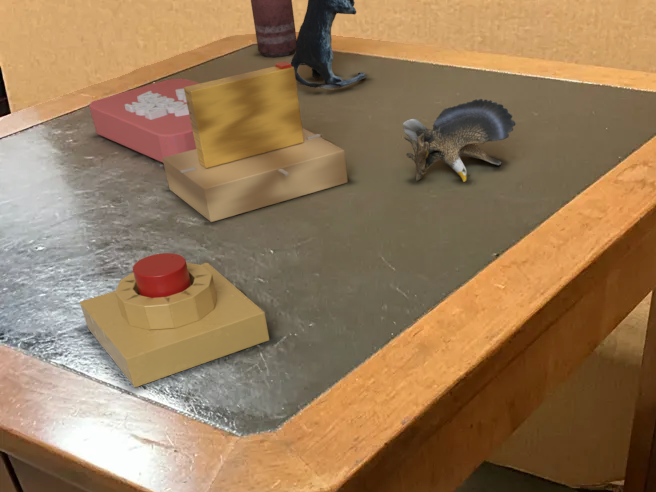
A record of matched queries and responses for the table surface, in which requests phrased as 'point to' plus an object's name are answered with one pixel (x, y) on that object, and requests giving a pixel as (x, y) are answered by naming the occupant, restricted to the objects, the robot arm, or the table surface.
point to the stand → (256, 177)
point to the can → (274, 27)
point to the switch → (174, 325)
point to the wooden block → (245, 114)
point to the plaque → (147, 119)
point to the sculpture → (320, 42)
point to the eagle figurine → (458, 135)
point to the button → (161, 275)
